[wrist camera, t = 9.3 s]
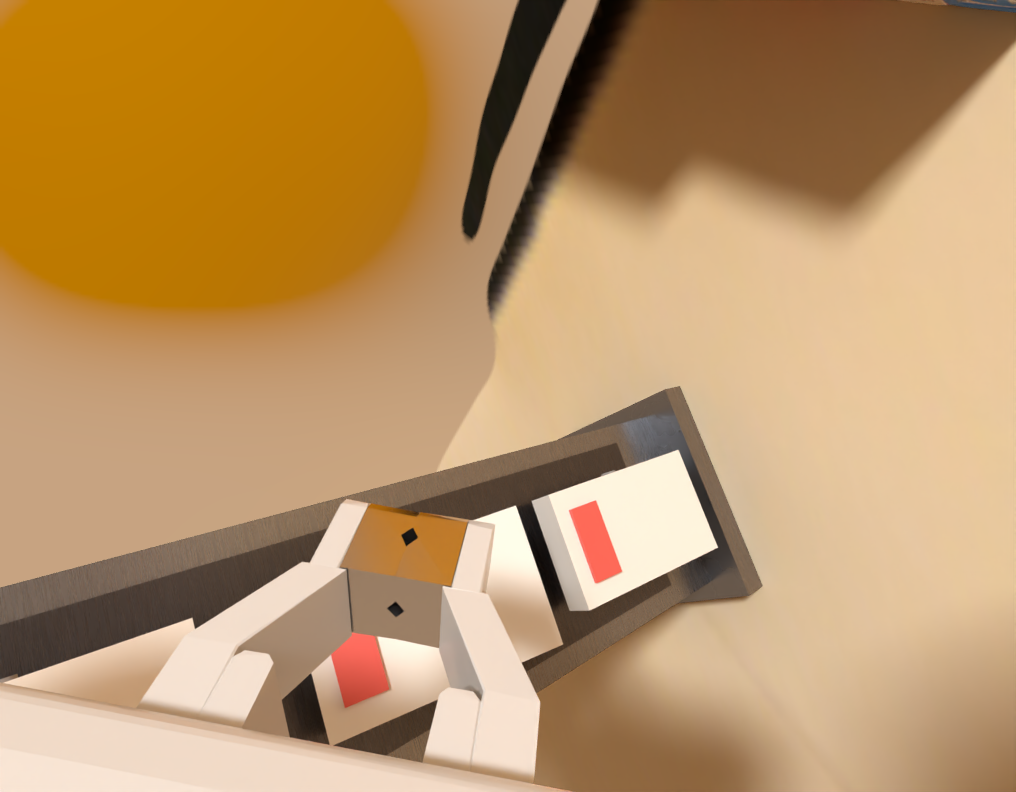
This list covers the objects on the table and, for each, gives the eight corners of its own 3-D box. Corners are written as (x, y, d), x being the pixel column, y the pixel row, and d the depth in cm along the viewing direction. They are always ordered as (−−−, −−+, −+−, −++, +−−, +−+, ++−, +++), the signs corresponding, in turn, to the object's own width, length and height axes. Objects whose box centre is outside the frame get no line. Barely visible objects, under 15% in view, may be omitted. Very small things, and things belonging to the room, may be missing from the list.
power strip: (679, 386, 34) (-889, 735, 8) (762, 585, 32) (-1037, 1891, 6) (571, 436, 42) (-437, 702, 16) (632, 601, 39) (-430, 1221, 14)
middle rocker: (516, 502, 21) (287, 581, 18) (566, 647, 20) (330, 752, 17) (505, 506, 22) (293, 580, 20) (550, 641, 21) (334, 735, 19)
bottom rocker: (680, 446, 29) (549, 491, 25) (721, 548, 28) (592, 613, 24) (657, 455, 30) (530, 498, 26) (695, 552, 29) (570, 613, 25)
